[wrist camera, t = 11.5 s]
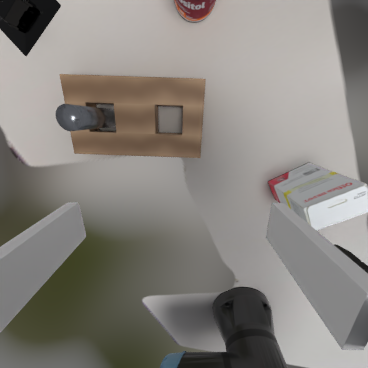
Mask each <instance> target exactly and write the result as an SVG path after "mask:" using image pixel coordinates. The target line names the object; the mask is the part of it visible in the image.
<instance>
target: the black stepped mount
mask: <svg viewBox="0 0 368 368" xmlns="http://www.w3.org/2000/svg"><path fill="white" fill-rule="evenodd" d="M60 7H61V5H60V4H59V3H58V2H57V1H56V0H0V29H1V30H2V31H3V32H4V33H5V34H6V36H7V37H8V38H9V39H10V40H11V41H12V42H13V43H14V44H15V45H16V46H17V47H18V48H19V50H20V51H21V52H22V53H23V54H24V55H25V56H27V55H28V53H29V52H30V50H31V49H32V47H33V46H34V44H35V43H36V42H37V40H38V39H39V37H40V36H41V34H42V33H43V31H44V30H45V29H46V27H47V26H48V24H49V23H50V21H51V20H52V18H53V17H54V15H55V14H56V13H57V11H58V10H59V8H60Z"/></svg>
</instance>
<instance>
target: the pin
mask: <svg viewBox="0 0 368 368" xmlns="http://www.w3.org/2000/svg"><path fill="white" fill-rule="evenodd" d="M56 119H57V122H58V123H59V125H60V126H61V127H62V128H64V129H65V130H67V131H79V130H87V129H96V128H105V127H113V126H116V123H115V113H114V110H112V109H106V108H97V107H88V106H80V105H71V104H62V105H60V106H59V107H58V108H57V110H56Z"/></svg>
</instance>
